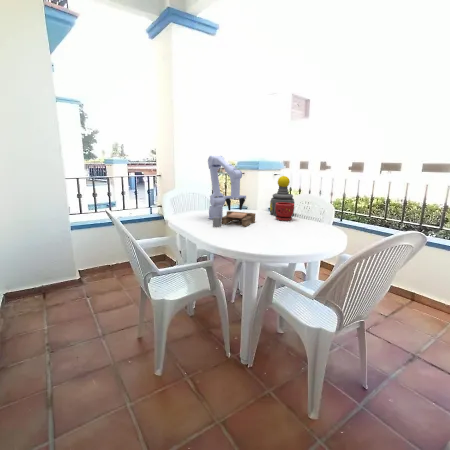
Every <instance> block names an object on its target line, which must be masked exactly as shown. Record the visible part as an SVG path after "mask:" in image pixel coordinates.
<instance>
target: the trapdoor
mask: <svg viewBox="0 0 450 450" xmlns="http://www.w3.org/2000/svg"><path fill="white" fill-rule="evenodd" d="M245 216H247V214H244V213H231V214H229V215H228V217H234V218H244V217H245Z"/></svg>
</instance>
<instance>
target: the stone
mask: <svg viewBox="0 0 450 450" xmlns="http://www.w3.org/2000/svg"><path fill="white" fill-rule="evenodd" d="M212 227H213V228H220V227H222V219H221V217H216V216H215V217H213V219H212Z"/></svg>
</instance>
